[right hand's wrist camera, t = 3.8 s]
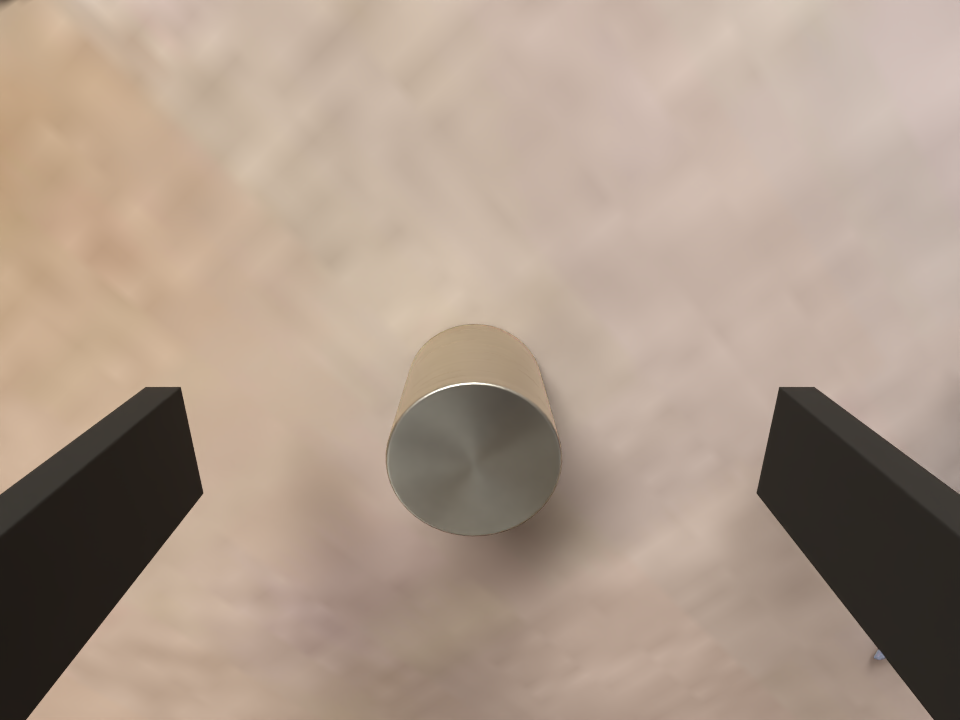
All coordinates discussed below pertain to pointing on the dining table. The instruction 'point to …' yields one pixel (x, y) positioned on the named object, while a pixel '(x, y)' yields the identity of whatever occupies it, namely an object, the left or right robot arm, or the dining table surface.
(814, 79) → the dining table surface
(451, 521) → the tin
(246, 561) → the dining table surface
